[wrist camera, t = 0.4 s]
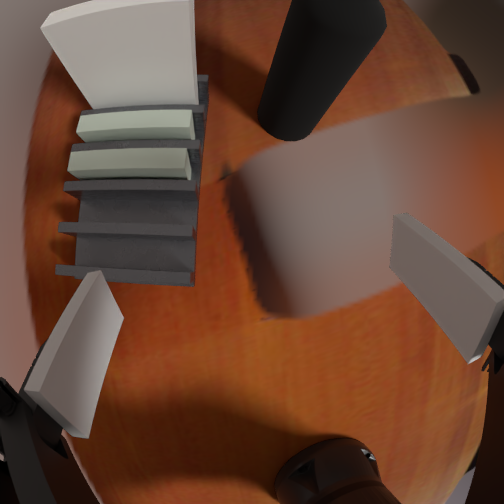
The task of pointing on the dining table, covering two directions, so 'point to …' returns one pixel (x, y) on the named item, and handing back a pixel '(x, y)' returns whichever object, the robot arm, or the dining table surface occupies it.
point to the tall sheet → (128, 51)
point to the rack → (140, 212)
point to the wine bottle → (316, 61)
